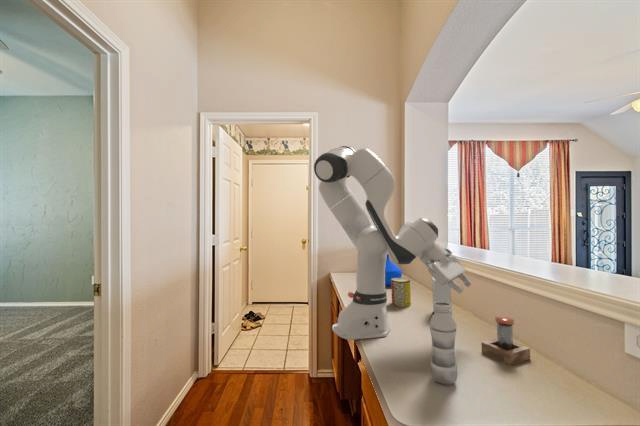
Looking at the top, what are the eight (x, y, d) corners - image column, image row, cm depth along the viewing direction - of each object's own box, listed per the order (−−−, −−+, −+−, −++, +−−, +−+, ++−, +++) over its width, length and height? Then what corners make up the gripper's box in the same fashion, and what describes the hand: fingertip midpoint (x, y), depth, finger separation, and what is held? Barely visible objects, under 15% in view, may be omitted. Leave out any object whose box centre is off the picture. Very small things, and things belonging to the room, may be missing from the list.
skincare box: (452, 318, 121) (451, 281, 122) (435, 317, 123) (434, 280, 123) (447, 311, 129) (446, 277, 130) (432, 311, 131) (431, 276, 131)
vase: (405, 283, 187) (405, 253, 188) (396, 289, 172) (396, 256, 172) (378, 280, 197) (378, 252, 198) (368, 285, 182) (367, 255, 182)
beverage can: (390, 301, 147) (389, 277, 147) (407, 301, 147) (407, 277, 147) (394, 306, 138) (393, 281, 138) (413, 306, 138) (412, 281, 138)
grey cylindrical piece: (507, 360, 85) (506, 322, 86) (492, 353, 90) (491, 317, 90) (518, 356, 87) (517, 320, 87) (503, 350, 92) (502, 315, 92)
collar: (510, 364, 83) (509, 354, 83) (481, 351, 91) (481, 342, 91) (530, 358, 86) (529, 348, 86) (501, 346, 94) (500, 337, 95)
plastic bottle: (425, 375, 78) (424, 300, 78) (449, 373, 79) (447, 299, 79) (437, 389, 72) (435, 308, 72) (463, 387, 72) (461, 307, 73)
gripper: (430, 256, 96) (463, 290, 89) (450, 249, 111) (480, 277, 104) (418, 268, 99) (449, 302, 92) (439, 259, 114) (467, 287, 107)
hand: (466, 288), depth 98 cm, fingers open, 8 cm apart
